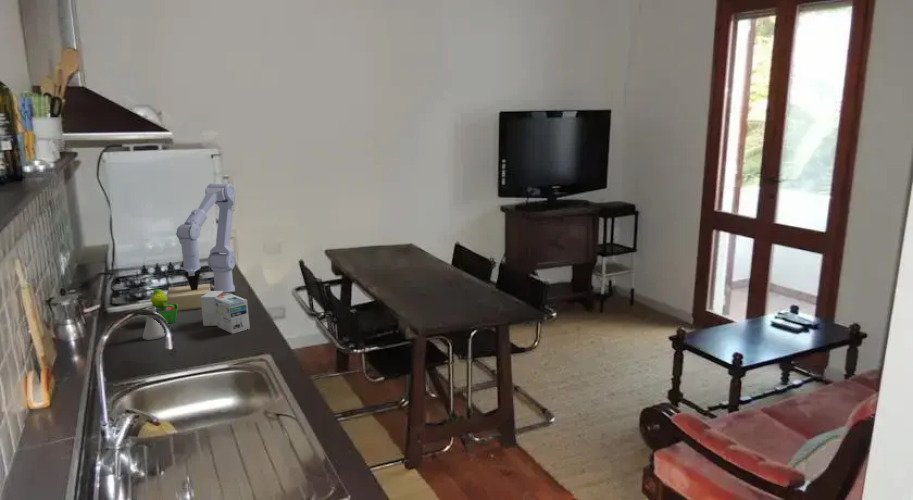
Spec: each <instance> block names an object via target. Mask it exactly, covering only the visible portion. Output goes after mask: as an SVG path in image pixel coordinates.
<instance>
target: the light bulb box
mask: <svg viewBox="0 0 913 500" xmlns="http://www.w3.org/2000/svg"><path fill="white" fill-rule="evenodd" d="M215 303H216V313H217V323H218V325H217V328H219V329H221V330H224V331H226V332H227V333H230V334H237V333H240V332H243V331H247V329H248V330H250V329H251V327H250V318H249V307H248V299H246V298H245V297H244V298H243V297H240V296H238V295H235V294H232V293H231V294H226V295H225V296H221V297H216V298H215Z"/></svg>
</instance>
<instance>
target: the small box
mask: <svg viewBox="0 0 913 500" xmlns="http://www.w3.org/2000/svg"><path fill="white" fill-rule="evenodd" d="M225 294H226V293H224V291H214V290H211V291H209V292H208V293H206V294H205V295H203V296H202V297H200V298H201V307H202V308H201V315H202V324H203V326H204V327H205V326H206V327H209V326H210V327H211V326H212V327H214V326H217V327H218V323H217V313H216V303H215V298H216V297H221V296H225Z"/></svg>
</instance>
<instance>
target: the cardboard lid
mask: <svg viewBox="0 0 913 500" xmlns="http://www.w3.org/2000/svg"><path fill="white" fill-rule="evenodd" d="M210 290H211V283H203V284H202V283H201V284H198V289H197V290H191V288H190V285H183V286H172V287H168V290H167V293H166V294H165V295H166V297H167V299H171V298H181V297H191V296H200V295H205V294H206V293H208V292H209V291H210Z"/></svg>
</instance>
